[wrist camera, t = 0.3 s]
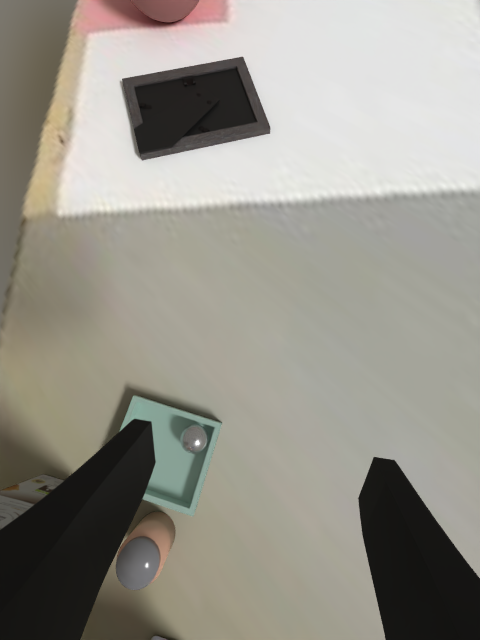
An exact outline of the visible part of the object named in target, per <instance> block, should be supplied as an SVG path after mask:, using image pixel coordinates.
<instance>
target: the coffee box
mask: <svg viewBox="0 0 480 640" xmlns="http://www.w3.org/2000/svg"><path fill="white" fill-rule="evenodd" d="M63 481H64V480H61V479H57V478H54V477H51V476H48V475H44V474H42V475H39V476H37V477H35V478H32V479H29V480H27V481H24V482H21V483H19V484H16V485H14V486H11V487H8V488H6V489H3V490H0V529H2V528H3V527H5V526H6V525H7V524H9V523H10V522H11V521H13V520H14V519H16V518H17V517H18V516H20V515H21V514H23V513H24V512H25V511H27V510H28V509H29V508H31V507H32V506H33V505H34V504H36V503H37V502H38V501H40V500H41V499H42V498H43V497H45V496H46V495H47V494H48V493H50V492H51V491H52V490H53V489H55V488H56V487H57V486H58V485H60V484H61V483H62V482H63Z"/></svg>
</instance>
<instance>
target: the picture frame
mask: <svg viewBox="0 0 480 640" xmlns="http://www.w3.org/2000/svg"><path fill="white" fill-rule="evenodd" d="M122 81H123V85H124V89H125V93H126V97H127V102H128V106H129V110H130V114H131V118H132V123H133V127H134V131H135V136H136V140H137V144H138V149H139V153H140V156H141V158H142V160H146V159H151V158H156V157H160V156H165V155H170V154H175V153H179V152H184V151H189V150H194V149H198V148H203V147H208V146H213V145H217V144H222V143H227V142H232V141H236V140H241V139H246V138H251V137H255V136H260V135H265V134H270V126H269V123H268V120H267V118H266V115H265V113H264V110H263V107H262V105H261V102H260V100H259V97H258V94H257V92H256V89H255V87H254V84H253V81H252V79H251V76H250V74H249V71H248V68H247V66H246V63H245V61H244V58H243V57H239V58H234V59H228V60H223V61H217V62H212V63H206V64H201V65H195V66H190V67H184V68H179V69H173V70H168V71H162V72H157V73H151V74H146V75H141V76H135V77H130V78H124V79H122Z"/></svg>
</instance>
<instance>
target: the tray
mask: <svg viewBox="0 0 480 640" xmlns="http://www.w3.org/2000/svg"><path fill="white" fill-rule="evenodd" d="M133 419H140V420H146V421H152V431H153V441H154V451H155V461H156V463H155V466H154V469H153V472H152V475H151V478H150V481H149V483H148V486H147V489H146V492H145V494H144V496H143V500H146V501H149V502H152V503H155V504H158V505H161V506H164V507H167V508H169V509H172V510H175V511H178V512H181V513H184V514H187V515H190V516H194V513H195V510H196V507H197V503H198V500H199V497H200V494H201V490H202V487H203V484H204V480H205V477H206V474H207V471H208V467H209V464H210V461H211V457H212V454H213V451H214V448H215V444H216V441H217V438H218V434H219V431H220V428H221V425H222V422H219V421H216V420H212V419H209V418H206V417H203V416H200V415H197V414H194V413H191V412H188V411H184V410H181V409H178V408H175V407H172V406H169V405H166V404H163V403H160V402H156V401H153V400H150V399H147V398H144V397H141V396H135V395H133V398H132V400H131V403H130V406H129V408H128V411H127V413H126V416H125V418H124V421H123V424H122V426H121V429H120V431H121V430H122V429H123V428H124V427H125V426H126V425H127V424H128V423H129V422H130V421H132V420H133ZM192 424H198V425H201V426H202V427H203V428H204V429H205V430H206V431H207V434H208V443H207V445H206V447H205V448H204V450H202V451H201V452H199V453H197V454H190V453H187V452H186V451H185V450H184V449H183V448H182V446H181V443H180V436H181V433H182V431H183V430H184V429H185V428H186V427H187V426H189V425H192ZM120 431H119V432H120Z"/></svg>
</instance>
